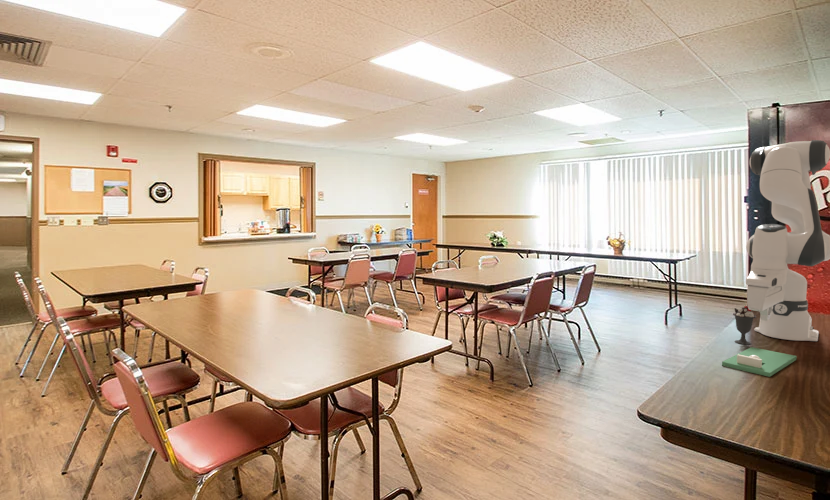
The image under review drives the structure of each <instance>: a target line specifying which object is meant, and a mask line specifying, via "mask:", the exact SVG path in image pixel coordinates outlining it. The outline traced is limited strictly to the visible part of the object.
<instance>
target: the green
mask: <svg viewBox="0 0 830 500" xmlns="http://www.w3.org/2000/svg"><path fill="white" fill-rule="evenodd" d="M751 355H756V356H758V357H759V358H760V359H758V358H753V357H749V356H751ZM795 361H797V355H795V354H794V355H793V354H789V353H783V352H778V351H772V350H768V349H763V348H758V347H753V346H751V347H749V348H747V349H745V350H743V351H741V352H739V353H737V354H734V355H732V356H730V357H729V358H727V359H725V360H723V361H721V366H723V367H727V368H731V369H735V370H740V371H744V372H747V373H751V374H757V375H760V376H765V377H768V378H770V377H772V376H773V375H775V374H776V373H778V372H779V371H781V370H783V369H785V368H786V367H788V366H790V364H792V363H794V362H795Z"/></svg>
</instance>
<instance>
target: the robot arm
mask: <svg viewBox="0 0 830 500" xmlns="http://www.w3.org/2000/svg"><path fill="white" fill-rule="evenodd" d="M829 161H830V147H829V145H828V144H827V142H826V141H824V140H819V139H818V140H817V139H811V140H810V141H809V140H804V141H803V140H801V141H791V142H787V143H780V144H774V145H770V146H762V147H761V146H760V147H758V148H756V149H755V150H753V152H751V155H750V158H749V167H750V170H751V172H752V173H754V174H755V175H757V176H759V177H760V178H759V191H760V194H761V195H762V196H763V197H764V198H765V199H766V200H768V201H770V202H771V215H772V217H773V218H774V220H775V221H777V222H780V223H782V224H777V223H769V224H768V223H767V224H766V223H765V224H761V225H758V226H757V227H756V228H755V232H754V234H753V235H751V236H750V237H749V238H748V240H747V242H746V246H745V247H746V248H745V249H746V252H747V254H748V256H749V257H750V258H751V259H752V262H751V265H750V271H749V275H748V276H747V277H746V279H745V285H746V286H747V290H746V292H747V293H746V302H747V305H748V308H749V310H751V311H754V312H759V314H760V318H759V323H758V324H759V325H758V326H757V327H755V328H754V329H753V330H754V331H755V332H756V333H757V332H758V333H760V334H762V335H764V336H766V337H771V338H774V339H781V340H788V341H798V342H799V341H802V342H803V341H809V342H818V341H819V333H820V332H819V330H817V329H814V326H812V317H811V315H810V313H809V311H808V310H809V299H807V291H808V280H807V279H806V277H805V276H804V275H803V274H800V273H798V272H797V271H794V270H792V269H789V266H788V265H789V264H790V265H798V266H804V267H805V266H806V267H814V266H816V265H819V264H821V263H823V262H826V261H829V260H830V234H828V233H826V232H825V231H824V230H822V224H821V218H820V213H819V207H818V203H817V199H816V195H815V192H814V191H813V189H812V188H811V187H812V186H811V185H812V184H811V178H810V174H809V172H811V175H812V176H815V175H816V173H817V172H819V171H821V170H823V169H824V168H825V167H826V166H827V165H828V162H829ZM783 224H785V225H787V226H789V228H790V232H788V229H787V227H786V226H785V225H783ZM747 305H746V306H747Z"/></svg>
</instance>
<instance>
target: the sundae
mask: <svg viewBox="0 0 830 500" xmlns="http://www.w3.org/2000/svg"><path fill="white" fill-rule="evenodd" d="M733 310H734V312H735V313H732V315H733V316H734V319H735V327H736V329H737V331H738V332H739V333H740V335H741V336H740V338H739V339H738V340H737V339H736V340H734V343H736V344H739V345H744V346H746V345H748V346H750V345H752V342H751V341H748V340H747V339H746V334H748V333H749V332H751V329H752V325H753V322H754V319H757V315H755V314H754V312H752V310H749V308H748V305H744V306H742V307H740V308H738V309H737V308H734V309H733Z"/></svg>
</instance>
